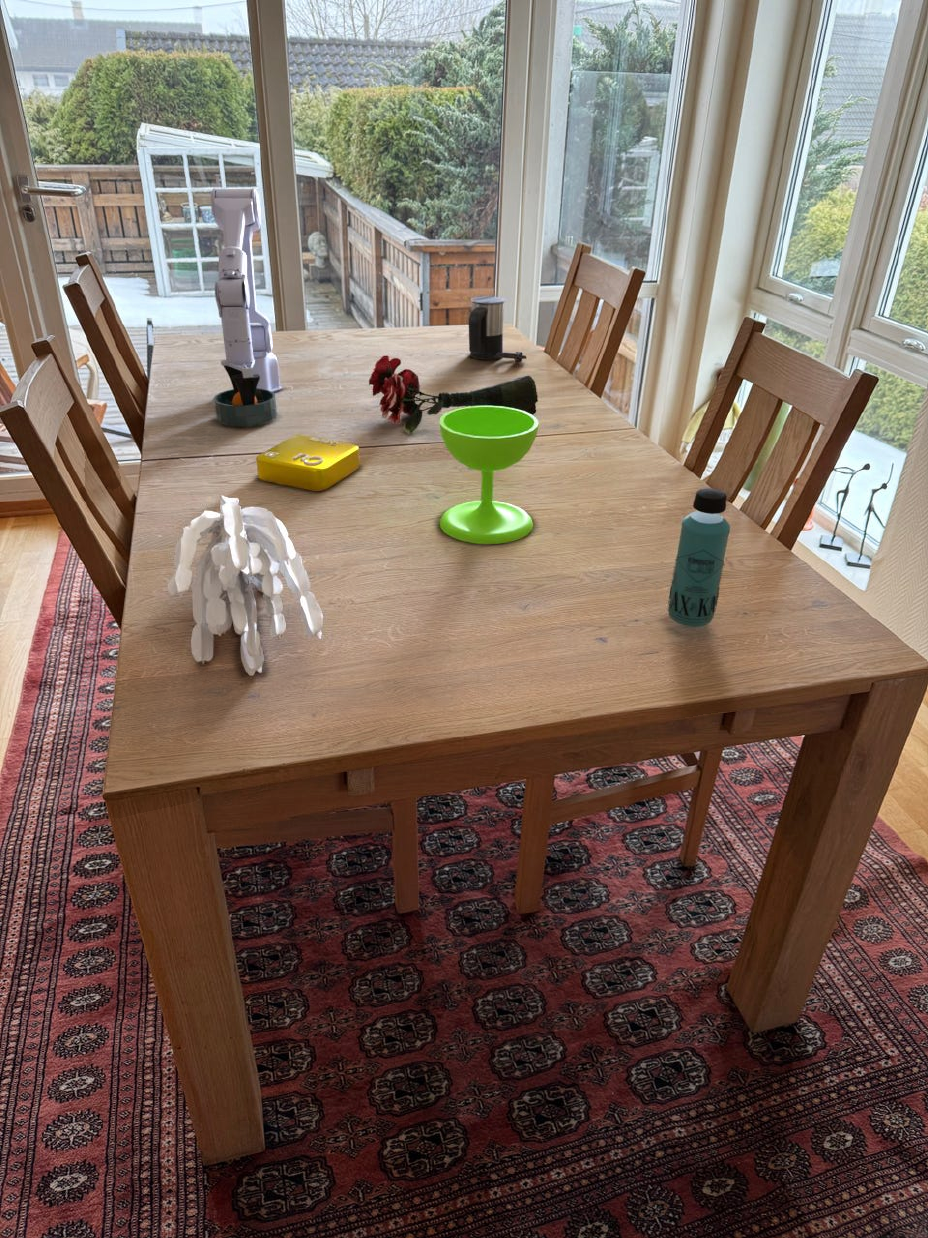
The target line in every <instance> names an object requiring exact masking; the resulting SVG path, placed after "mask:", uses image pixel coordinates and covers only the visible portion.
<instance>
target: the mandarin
mask: <svg viewBox="0 0 928 1238" xmlns="http://www.w3.org/2000/svg"><path fill="white" fill-rule="evenodd" d="M232 404H233V405H235V406H240V405H243V404H242V401H241V397H240V393H239V392H238V393H236V394H235V396H234V397H233V400H232ZM254 404H258V402H257V399H256V397H255V403H254Z"/></svg>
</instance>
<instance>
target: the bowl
mask: <svg viewBox="0 0 928 1238" xmlns="http://www.w3.org/2000/svg"><path fill="white" fill-rule="evenodd" d="M234 396H235V392H234V389H233V388H232V389H228V390H224V391H220V392H219V393H217V394H215V395H214V397H213V398H212V399H213V406H214V413H215V415H214V416H215V419H216V421H217V422H219V423H220V424H223V425H226V426H230V427H235V428H250V427H257V426H261V425H264V424H267V423H269V422H271V421H273V420H274V419H276V418H277V416H278V410H277V402H276V401H277V400H276V399H277V398H276V394H275V392H271V391H269V390H265V389H260V388H256V394H255V397H256V399H257V402H258V404H254V405H240V406H235V405H233V404H232V400H233V397H234Z"/></svg>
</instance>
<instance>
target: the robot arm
mask: <svg viewBox="0 0 928 1238" xmlns="http://www.w3.org/2000/svg"><path fill="white" fill-rule="evenodd" d="M260 205H261V204H260V195H259V192H258V190H257V189H256V188H254V187H253V188H215V187H213V188H212V190H211V191H210V208H211V213H212V217H213V218H214V221H215V224H216V225H217V227H218V229H219V230H220V231H222V234H223V243H224V244H223V245H224V247H223V248H222V249H221V250H220V251H219V253H218V273H217V274H218V276H217V277H218V278H217V281H215V282H214V299H215V302H216V307H217V310H218V316H219V318H220V320H221V321H220V322H221V327H222V329H221V330H222V335H223V344H224V345H223V346H224V352H225V359H222V360H220V365H221V366H222V367H223V368H224V369H225V371H226V373H227V375H228V377H229V380H230V382H231V385H232V389H234V392H235V394H236V393H238V392H239V393H240V397H241V401H242V404H243V405H254V403H255V394H256V388H260V389H265V390H269V391H271V392H273V393H276V392H278V391H280V390H283V389H284V387H283V386H282V385H281V381H280V369H279V361H278V359H277V356H276V355H275V354H274V353H273V352H272V351H273V334H272V333H273V332H272V327H271V321H270V319H269V318H268V316H267V315H265V314H264V313H262V312H261V311H260V310H258V307H257V294H256V279H255V269H254V258H253V257H254V256H253V246H252V245H253V236H254V233H256V232H257V231H259V230H261V224H262V221H261V220H262V219H261V206H260ZM251 324H257V325H251ZM258 324H259V325H258Z"/></svg>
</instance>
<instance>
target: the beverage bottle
mask: <svg viewBox="0 0 928 1238" xmlns="http://www.w3.org/2000/svg"><path fill="white" fill-rule="evenodd" d="M692 506H693V509H694V510H695V511H693V512H691V513H689V514H688V515H686V516H685V517H684V518H683V519H682V520H681V528H680V529H681V530H680V534H679V541H678V548H677V553H676V557H675V559H674V561H675V563H674V566H673V569H672V572H673V573H672V576H671V577H672V580H671V584H670V588H669V596H668V602H667V605H668V607H667V608H666V609H667V611H668V616H669V618H670V619H671V620H672V621H674V622H675V623H677V624H679V625H682V626H685V627H686V626H687V627H695V628H697V627H703V626H707V625H709V624H711V622H712V621H713V619H714V617H715V613H716V610H717V607H718V601H719V597H720V596H719V595H720V588H721V587H720V586H721V582H722V575H723V569H724V565H725V564H726V563H725V556H726V552H727V547H728V546H727V544H728V540H729V534H730V532H731V524H730V522H729V521H728V520H727V519H726V518H725V517H724V516H722V513H724V512H725V511H726V509H727V494H726V492H724V491H722V490H721V489H717V488H711V487H707V488H706V487H704V488H700V489H698V490H697V491H696V492H695V497H694V500H693V503H692Z"/></svg>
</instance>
